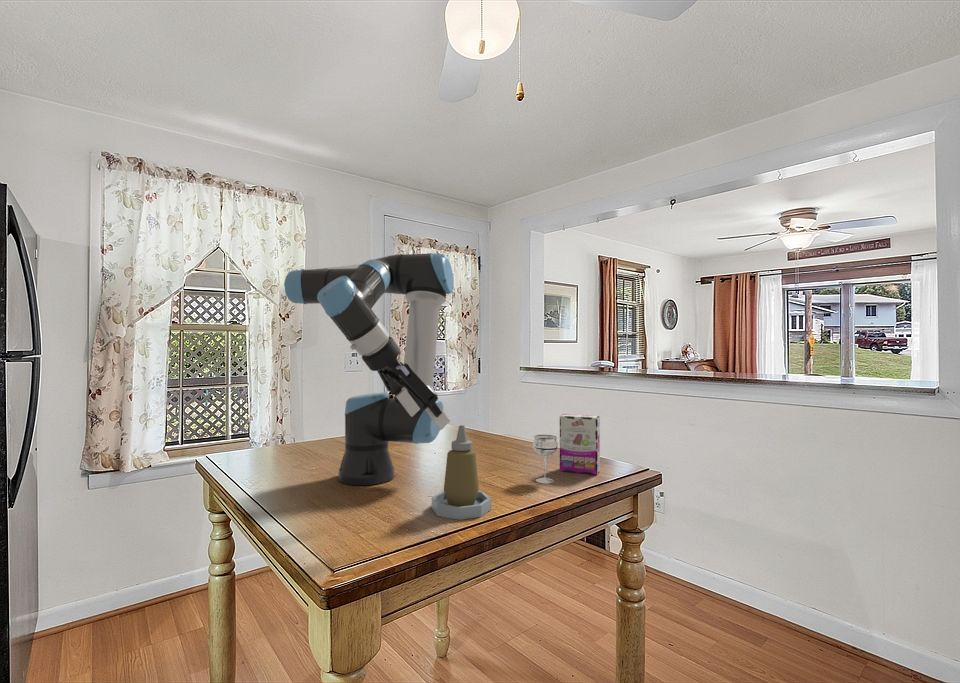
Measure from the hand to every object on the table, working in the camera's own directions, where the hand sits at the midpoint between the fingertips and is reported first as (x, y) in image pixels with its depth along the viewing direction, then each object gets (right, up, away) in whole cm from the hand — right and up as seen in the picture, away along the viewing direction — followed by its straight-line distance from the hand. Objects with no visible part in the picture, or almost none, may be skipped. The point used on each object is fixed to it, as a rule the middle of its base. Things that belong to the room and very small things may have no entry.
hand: (429, 418), depth 111 cm
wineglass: (+29, -21, +24) cm, 43 cm away
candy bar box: (+41, -21, +34) cm, 57 cm away
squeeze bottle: (+7, -20, +2) cm, 21 cm away
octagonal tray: (+7, -21, +2) cm, 22 cm away
